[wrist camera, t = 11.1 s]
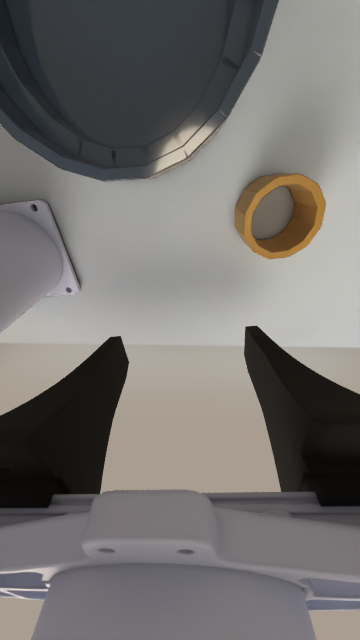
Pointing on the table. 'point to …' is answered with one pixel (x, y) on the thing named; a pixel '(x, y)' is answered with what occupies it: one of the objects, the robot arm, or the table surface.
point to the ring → (300, 226)
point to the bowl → (125, 78)
